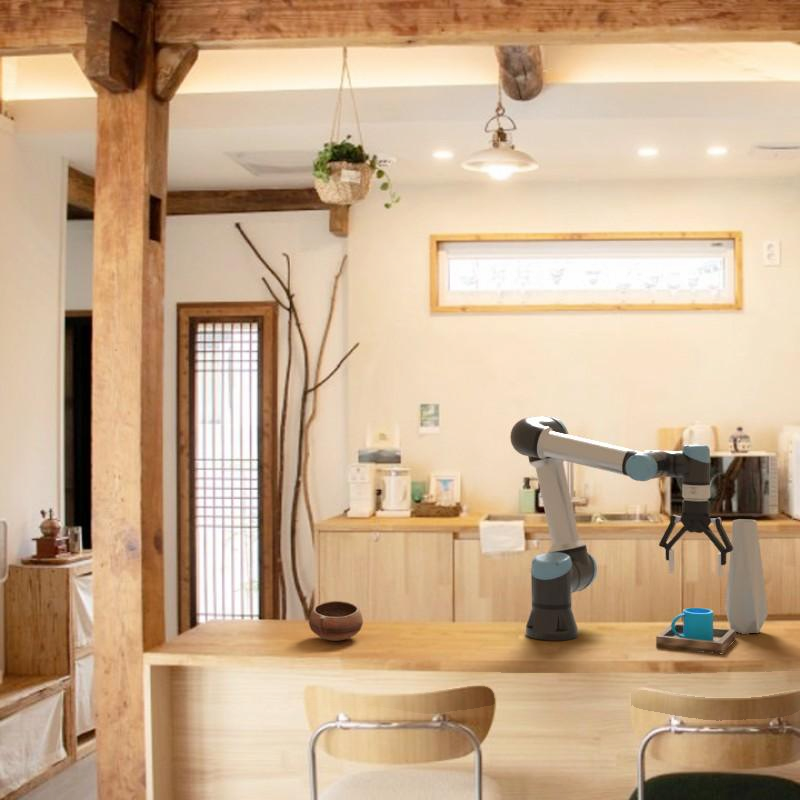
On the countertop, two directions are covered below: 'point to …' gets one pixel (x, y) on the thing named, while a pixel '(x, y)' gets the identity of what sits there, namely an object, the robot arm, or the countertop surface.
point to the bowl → (335, 620)
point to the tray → (696, 640)
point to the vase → (745, 580)
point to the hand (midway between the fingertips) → (695, 574)
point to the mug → (695, 624)
